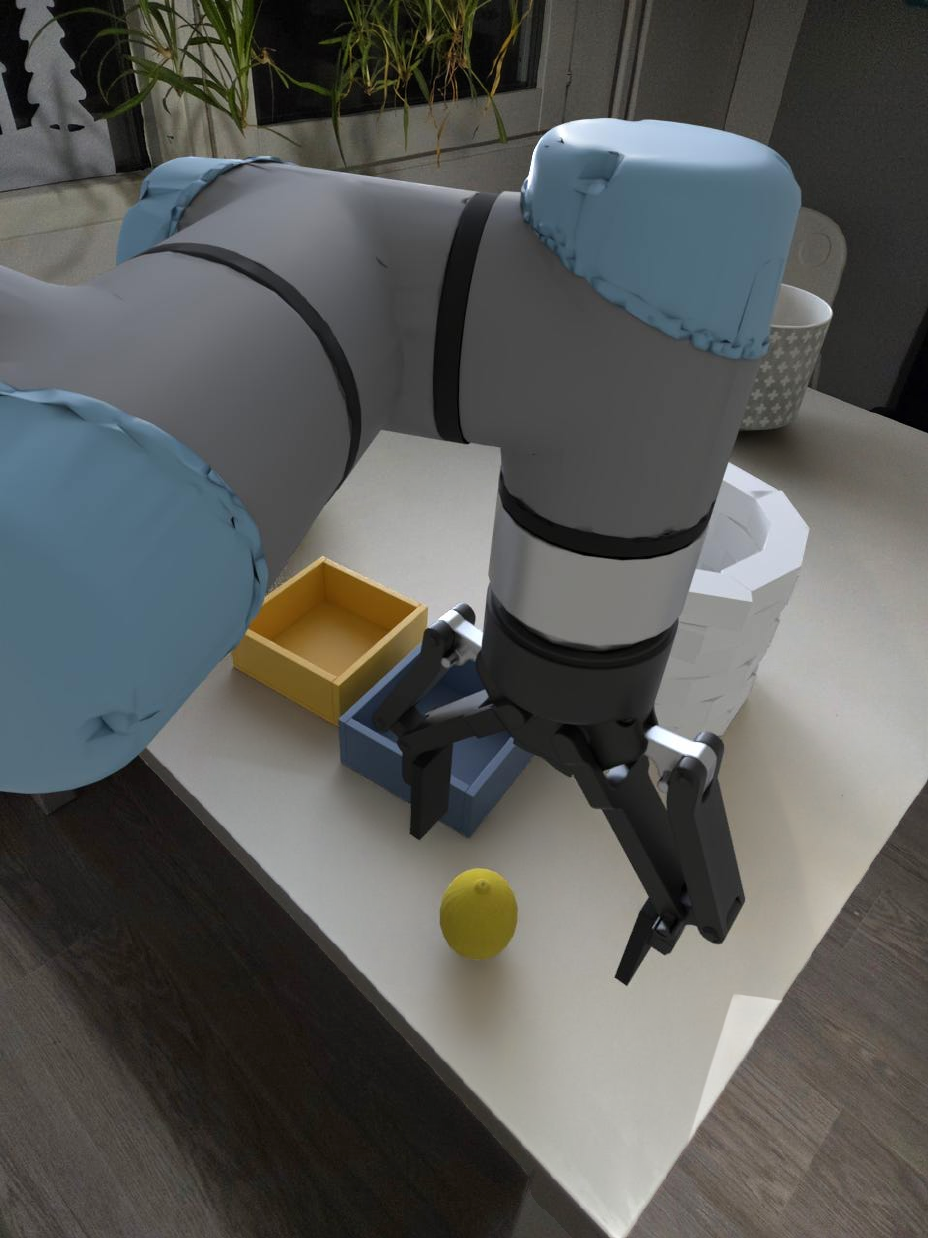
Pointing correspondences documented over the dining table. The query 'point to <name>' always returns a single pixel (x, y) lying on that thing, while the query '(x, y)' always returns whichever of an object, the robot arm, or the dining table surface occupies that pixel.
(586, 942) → the dining table surface
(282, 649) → the yellow bin
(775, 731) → the dining table surface
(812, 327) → the planter
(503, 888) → the lemon
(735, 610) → the white brick well
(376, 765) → the blue bin
